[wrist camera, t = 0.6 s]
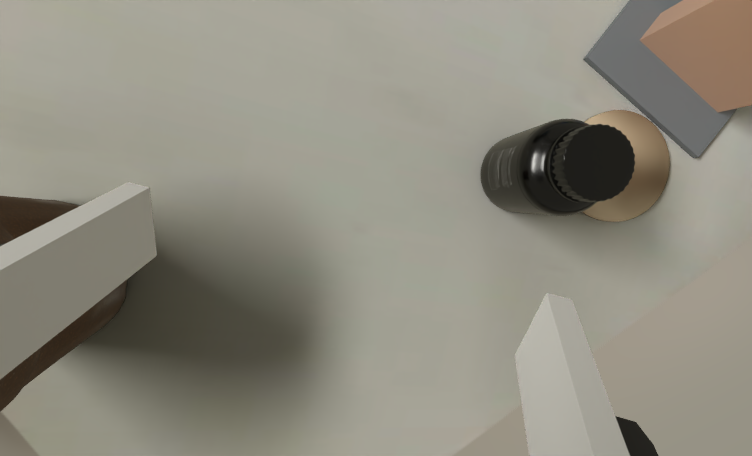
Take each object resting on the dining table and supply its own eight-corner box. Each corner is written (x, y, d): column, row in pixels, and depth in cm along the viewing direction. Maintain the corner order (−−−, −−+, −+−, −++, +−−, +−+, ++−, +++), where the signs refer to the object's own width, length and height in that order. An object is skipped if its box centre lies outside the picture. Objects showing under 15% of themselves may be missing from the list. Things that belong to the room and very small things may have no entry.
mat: (693, 157, 37) (698, 157, 37) (583, 59, 36) (587, 57, 35) (842, -31, 37) (851, -35, 37) (738, -139, 36) (744, -144, 35)
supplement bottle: (521, 227, 37) (605, 242, 25) (463, 182, 36) (521, 175, 24) (566, 166, 37) (673, 151, 25) (509, 120, 36) (590, 82, 24)
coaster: (571, 103, 36) (574, 101, 36) (673, 120, 37) (679, 119, 36) (552, 213, 37) (555, 213, 36) (653, 228, 38) (658, 228, 37)
